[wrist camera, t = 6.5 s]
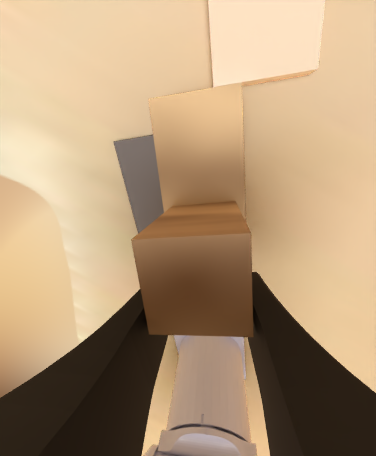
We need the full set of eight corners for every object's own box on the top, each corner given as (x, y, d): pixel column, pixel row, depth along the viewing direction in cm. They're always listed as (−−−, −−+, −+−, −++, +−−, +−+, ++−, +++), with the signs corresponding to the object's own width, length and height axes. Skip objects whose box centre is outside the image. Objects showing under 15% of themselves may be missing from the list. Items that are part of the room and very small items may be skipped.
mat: (240, 279, 20) (240, 282, 20) (153, 282, 22) (152, 285, 22) (231, 122, 15) (232, 121, 14) (115, 141, 16) (113, 141, 16)
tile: (317, 69, 12) (338, -125, 9) (213, 87, 13) (202, -83, 10) (305, 76, 13) (320, -87, 11) (213, 92, 14) (204, -54, 12)
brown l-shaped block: (244, 256, 13) (270, 345, 6) (175, 259, 13) (136, 341, 7) (239, 92, 10) (271, -29, 4) (155, 105, 11) (69, 22, 5)
